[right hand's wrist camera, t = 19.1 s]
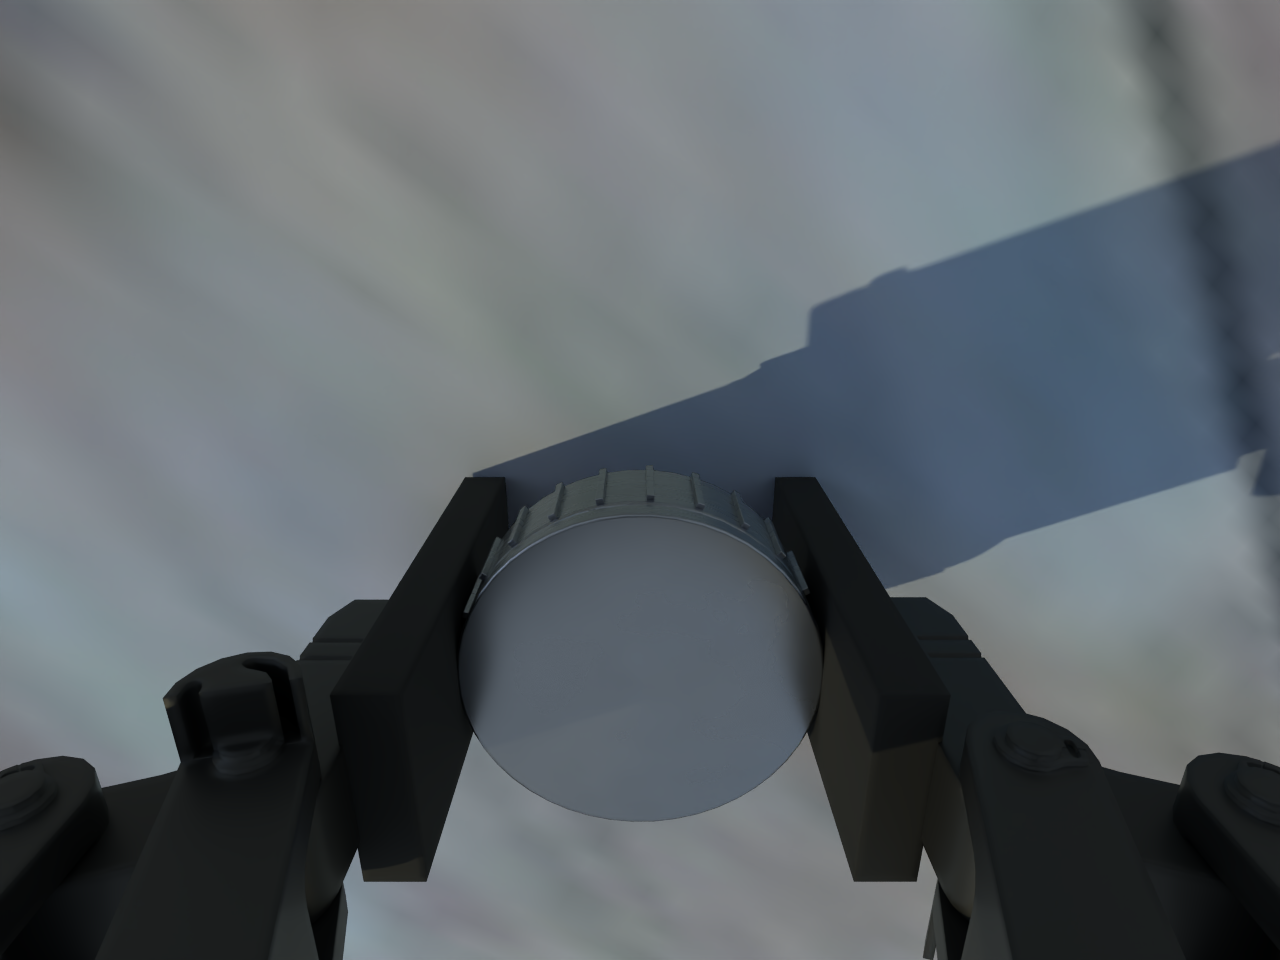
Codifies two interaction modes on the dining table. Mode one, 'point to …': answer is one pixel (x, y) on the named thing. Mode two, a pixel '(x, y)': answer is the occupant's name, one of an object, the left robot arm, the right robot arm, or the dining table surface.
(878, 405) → the dining table surface
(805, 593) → the lid
